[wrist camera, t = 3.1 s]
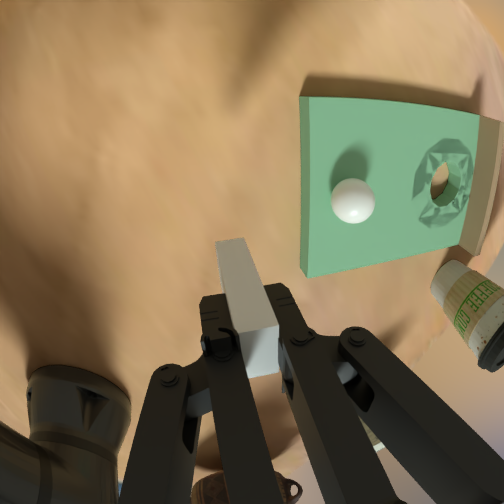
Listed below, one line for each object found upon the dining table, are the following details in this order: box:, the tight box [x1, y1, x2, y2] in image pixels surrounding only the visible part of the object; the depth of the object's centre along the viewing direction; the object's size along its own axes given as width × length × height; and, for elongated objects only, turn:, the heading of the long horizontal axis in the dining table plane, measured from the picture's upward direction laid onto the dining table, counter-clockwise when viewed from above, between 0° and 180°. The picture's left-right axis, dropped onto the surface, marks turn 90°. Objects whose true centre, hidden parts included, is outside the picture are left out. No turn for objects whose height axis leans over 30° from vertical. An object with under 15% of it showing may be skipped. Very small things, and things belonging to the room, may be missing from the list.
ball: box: [331, 178, 375, 224], centre depth 23 cm, size 4×4×4 cm
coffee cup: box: [431, 260, 504, 372], centre depth 31 cm, size 10×10×15 cm
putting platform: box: [299, 96, 504, 278], centre depth 26 cm, size 22×16×5 cm
